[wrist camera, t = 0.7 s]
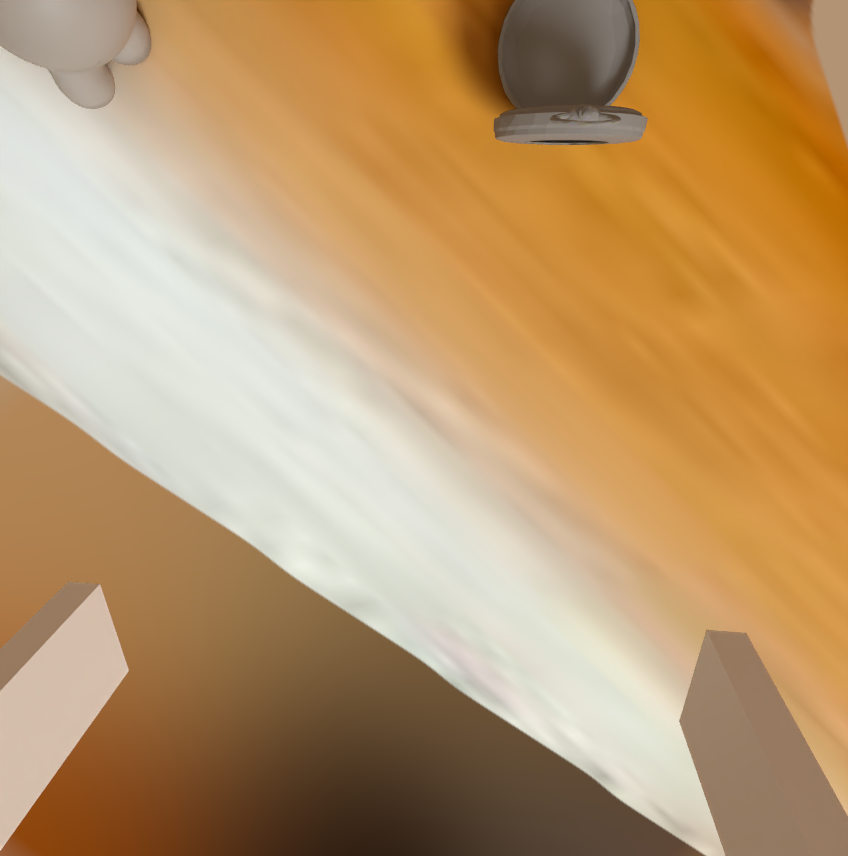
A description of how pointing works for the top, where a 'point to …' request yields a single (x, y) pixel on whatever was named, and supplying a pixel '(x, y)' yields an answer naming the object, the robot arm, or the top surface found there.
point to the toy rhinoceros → (76, 42)
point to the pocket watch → (568, 72)
